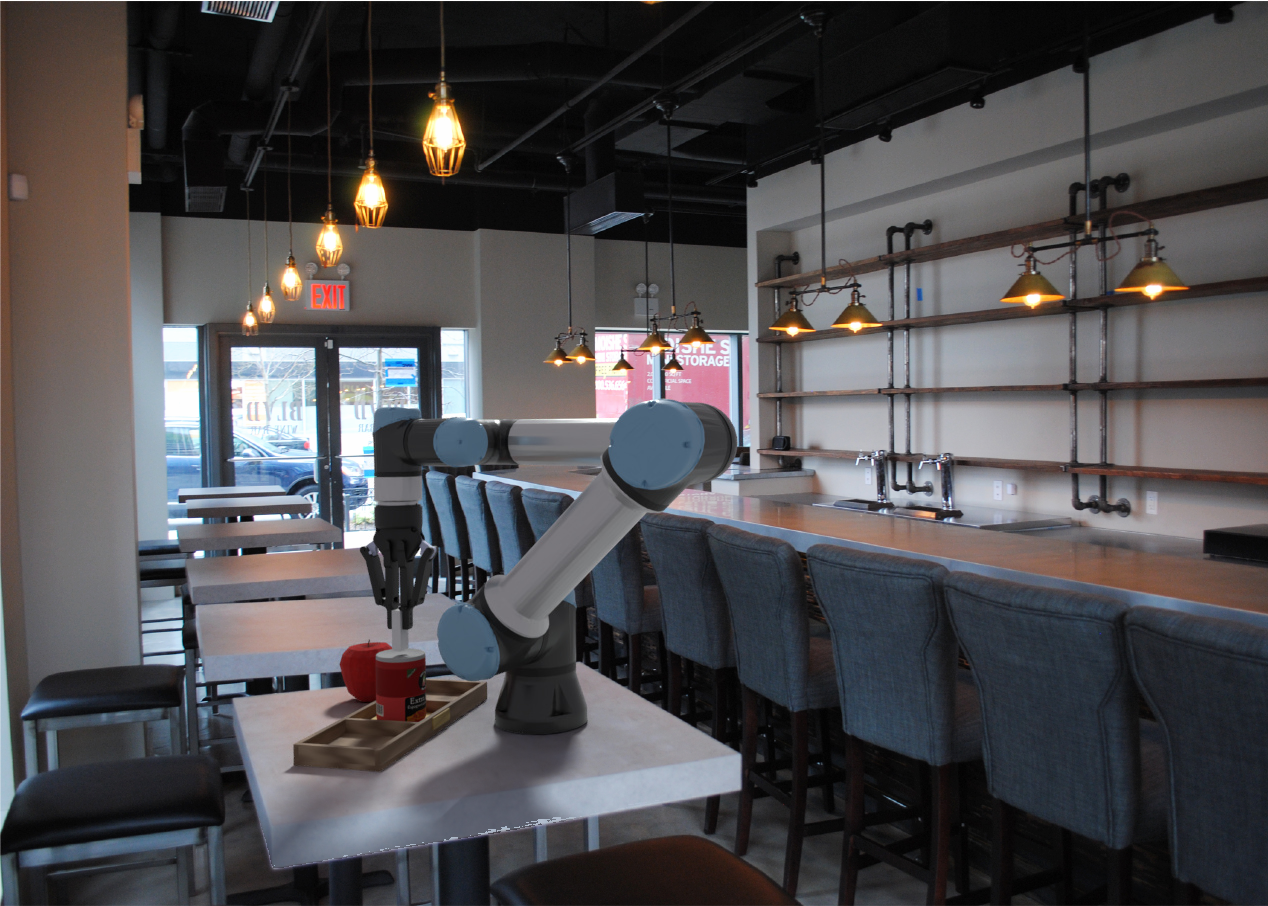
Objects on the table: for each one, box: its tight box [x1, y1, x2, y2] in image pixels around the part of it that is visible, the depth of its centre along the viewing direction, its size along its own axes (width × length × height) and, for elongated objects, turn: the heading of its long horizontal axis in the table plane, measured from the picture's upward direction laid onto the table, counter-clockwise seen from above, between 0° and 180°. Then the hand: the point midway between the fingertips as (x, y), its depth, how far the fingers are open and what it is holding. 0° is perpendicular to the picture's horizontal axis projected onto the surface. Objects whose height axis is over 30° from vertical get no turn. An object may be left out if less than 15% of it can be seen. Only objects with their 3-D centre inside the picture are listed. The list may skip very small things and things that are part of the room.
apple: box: [339, 639, 392, 703], centre depth 172 cm, size 10×10×11 cm
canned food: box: [376, 647, 427, 722], centre depth 154 cm, size 8×8×11 cm
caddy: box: [292, 678, 488, 773], centre depth 154 cm, size 14×39×3 cm, turn 167°
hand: (400, 649), depth 154 cm, fingers closed
